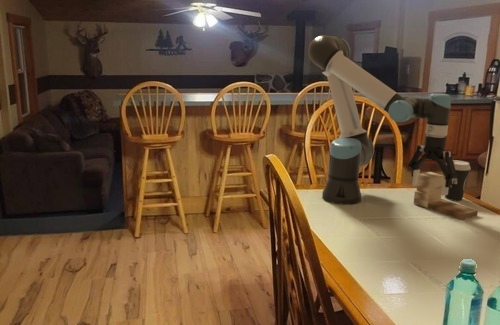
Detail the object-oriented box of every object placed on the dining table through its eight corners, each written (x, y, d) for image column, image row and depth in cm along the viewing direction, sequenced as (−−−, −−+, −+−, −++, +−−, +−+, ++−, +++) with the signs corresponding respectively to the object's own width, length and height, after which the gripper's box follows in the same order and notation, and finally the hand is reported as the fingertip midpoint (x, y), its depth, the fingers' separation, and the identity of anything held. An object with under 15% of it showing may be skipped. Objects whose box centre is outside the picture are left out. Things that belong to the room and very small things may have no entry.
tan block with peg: (413, 203, 182) (416, 174, 179) (430, 199, 187) (433, 171, 184) (426, 207, 177) (430, 177, 174) (443, 204, 182) (447, 174, 179)
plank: (413, 202, 183) (414, 197, 183) (429, 199, 188) (429, 194, 187) (461, 219, 166) (462, 214, 165) (477, 215, 170) (478, 210, 170)
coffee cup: (444, 193, 197) (448, 158, 194) (468, 198, 192) (473, 162, 188) (438, 198, 190) (442, 162, 186) (463, 203, 184) (468, 166, 181)
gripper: (402, 131, 184) (397, 183, 189) (459, 142, 163) (451, 200, 168) (415, 129, 187) (409, 181, 192) (472, 140, 167) (464, 197, 172)
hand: (429, 190), depth 180 cm, fingers open, 13 cm apart
